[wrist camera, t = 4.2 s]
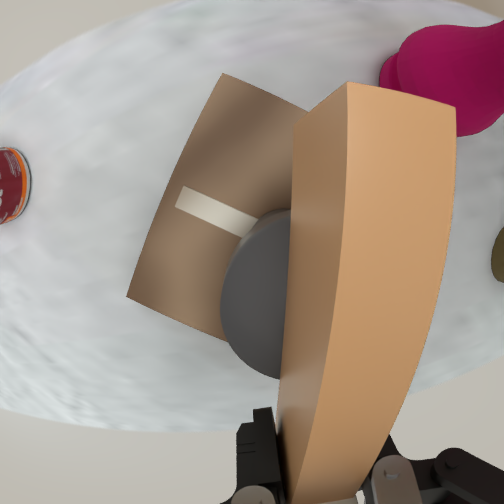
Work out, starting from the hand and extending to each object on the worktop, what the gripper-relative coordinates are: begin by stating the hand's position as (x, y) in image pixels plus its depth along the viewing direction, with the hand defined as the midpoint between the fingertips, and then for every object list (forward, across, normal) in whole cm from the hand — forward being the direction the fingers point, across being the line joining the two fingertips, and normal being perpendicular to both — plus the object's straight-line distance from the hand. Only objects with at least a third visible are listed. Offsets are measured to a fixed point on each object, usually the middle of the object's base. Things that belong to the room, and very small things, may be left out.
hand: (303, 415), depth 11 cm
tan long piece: (+3, -1, -4) cm, 5 cm away
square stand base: (+11, -1, -4) cm, 12 cm away
